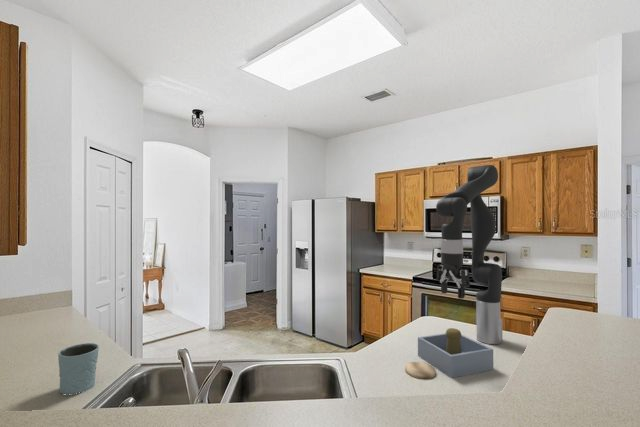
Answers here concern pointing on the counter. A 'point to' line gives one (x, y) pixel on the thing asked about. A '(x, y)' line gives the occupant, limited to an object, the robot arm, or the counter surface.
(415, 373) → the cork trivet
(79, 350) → the blue-grey textured cup
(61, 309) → the counter surface
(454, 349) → the pepper shaker
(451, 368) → the bin
